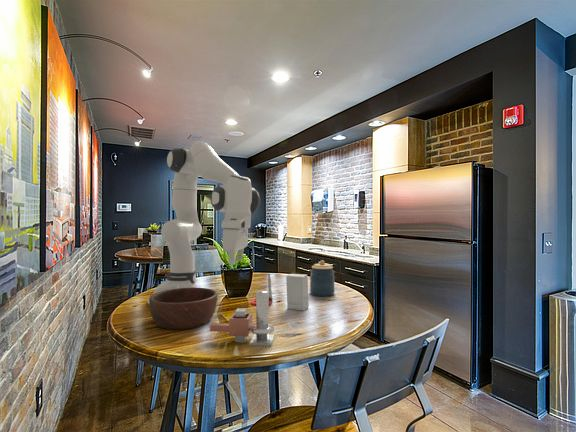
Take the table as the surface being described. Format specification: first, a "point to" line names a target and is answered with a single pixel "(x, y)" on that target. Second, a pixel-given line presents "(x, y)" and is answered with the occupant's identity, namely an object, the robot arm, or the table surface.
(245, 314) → the wedge pin
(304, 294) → the skincare box
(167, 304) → the wooden bowl
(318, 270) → the canister
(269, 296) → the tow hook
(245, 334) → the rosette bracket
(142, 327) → the table surface
